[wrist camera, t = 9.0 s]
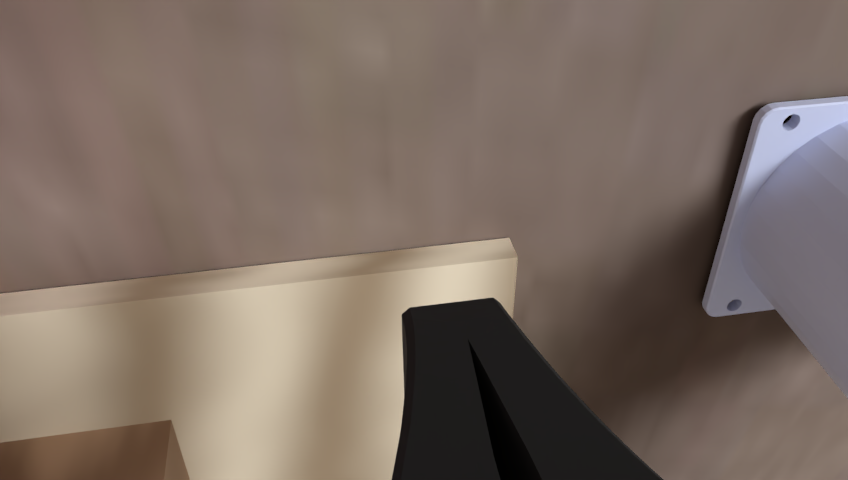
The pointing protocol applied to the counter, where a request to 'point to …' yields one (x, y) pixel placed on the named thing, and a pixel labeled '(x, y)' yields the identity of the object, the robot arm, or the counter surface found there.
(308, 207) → the counter surface
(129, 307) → the birch board
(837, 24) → the counter surface
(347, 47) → the counter surface
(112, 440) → the walnut block
